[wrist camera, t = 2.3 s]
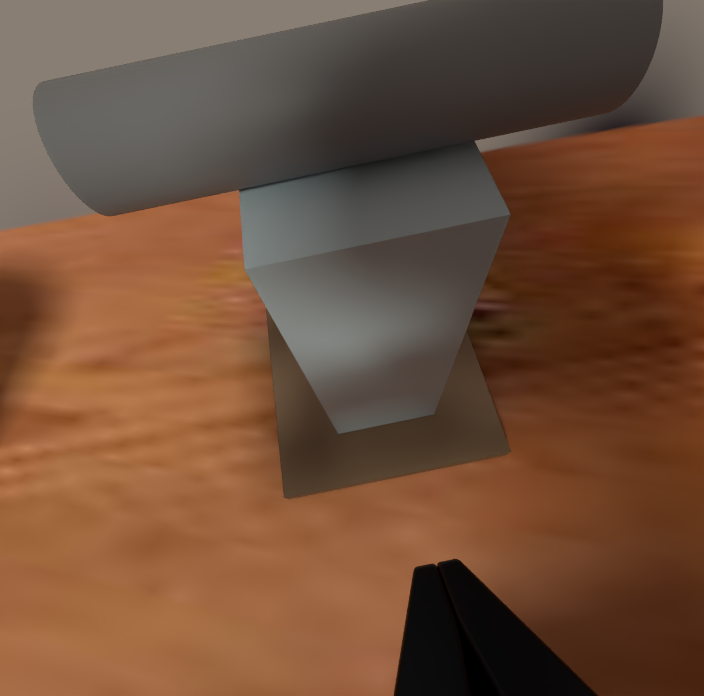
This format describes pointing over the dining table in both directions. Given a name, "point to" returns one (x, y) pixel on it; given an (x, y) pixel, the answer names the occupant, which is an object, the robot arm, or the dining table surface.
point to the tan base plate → (379, 429)
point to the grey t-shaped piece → (353, 165)
